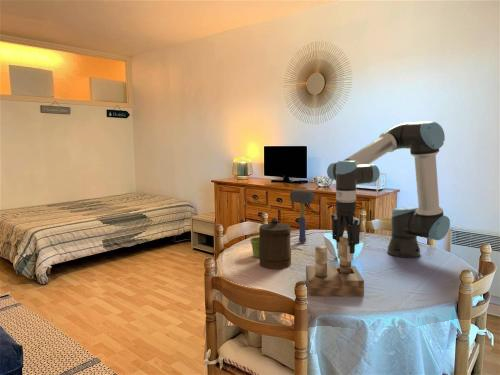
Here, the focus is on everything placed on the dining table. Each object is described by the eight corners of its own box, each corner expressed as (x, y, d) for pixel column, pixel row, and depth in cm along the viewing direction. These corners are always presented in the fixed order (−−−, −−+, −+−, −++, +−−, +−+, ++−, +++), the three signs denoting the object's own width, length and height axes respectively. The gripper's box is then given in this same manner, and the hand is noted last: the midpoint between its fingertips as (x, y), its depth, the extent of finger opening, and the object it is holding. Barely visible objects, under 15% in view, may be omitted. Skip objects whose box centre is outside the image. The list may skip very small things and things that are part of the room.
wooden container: (297, 263, 177) (296, 217, 174) (278, 271, 166) (277, 223, 163) (272, 257, 186) (271, 213, 184) (253, 265, 175) (251, 219, 173)
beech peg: (350, 269, 149) (350, 235, 148) (352, 273, 145) (352, 238, 143) (338, 269, 150) (338, 235, 148) (340, 273, 145) (340, 238, 143)
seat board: (355, 279, 154) (355, 239, 151) (363, 296, 138) (364, 251, 136) (306, 279, 155) (305, 240, 153) (309, 295, 139) (308, 251, 137)
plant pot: (272, 257, 186) (271, 240, 185) (254, 260, 182) (254, 242, 181) (264, 252, 194) (263, 236, 193) (247, 254, 191) (247, 238, 190)
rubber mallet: (315, 242, 210) (315, 189, 206) (309, 245, 204) (308, 191, 200) (296, 239, 217) (295, 188, 213) (289, 242, 211) (288, 190, 207)
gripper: (322, 199, 149) (322, 255, 152) (356, 204, 134) (355, 267, 137) (336, 197, 153) (336, 252, 156) (370, 202, 138) (369, 263, 141)
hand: (345, 259), depth 147 cm, fingers closed on beech peg, 4 cm apart
